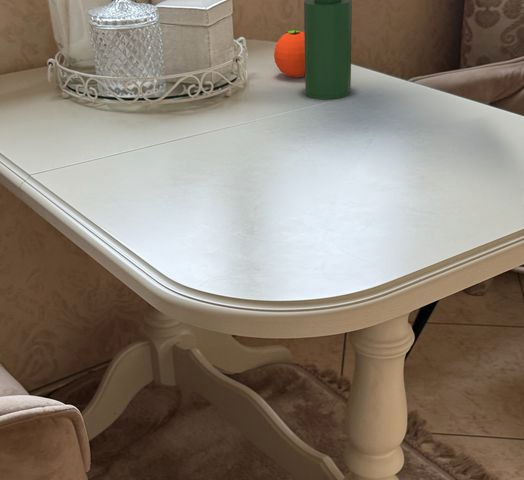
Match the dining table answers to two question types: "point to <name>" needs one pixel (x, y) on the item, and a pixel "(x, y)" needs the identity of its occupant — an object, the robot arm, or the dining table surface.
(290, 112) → the dining table surface
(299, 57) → the clementine
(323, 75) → the bottle
